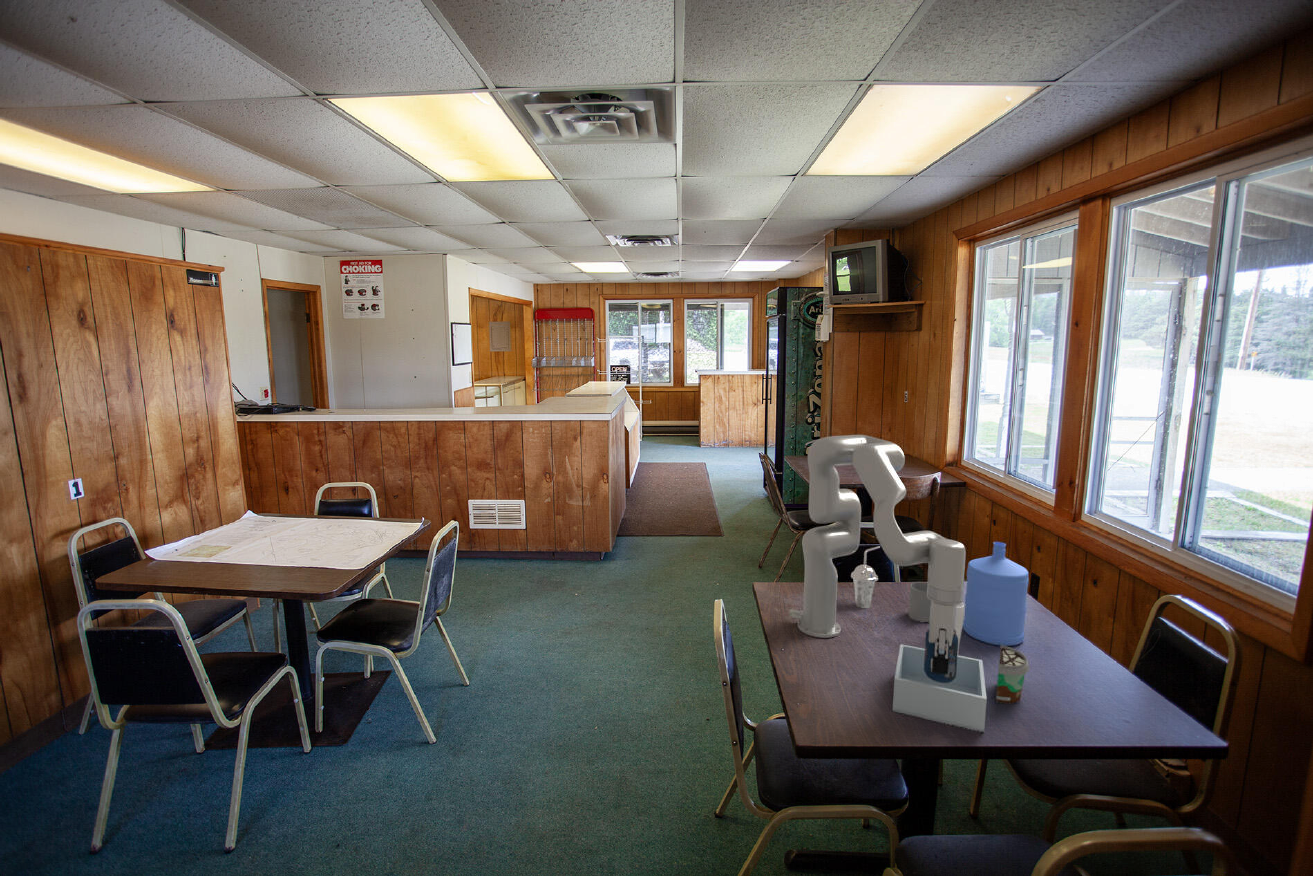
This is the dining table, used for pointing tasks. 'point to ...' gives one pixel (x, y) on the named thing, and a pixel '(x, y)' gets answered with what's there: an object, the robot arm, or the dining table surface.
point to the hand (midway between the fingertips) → (940, 664)
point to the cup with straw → (864, 582)
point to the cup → (919, 602)
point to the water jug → (996, 599)
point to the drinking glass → (959, 621)
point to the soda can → (951, 664)
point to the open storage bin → (940, 691)
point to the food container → (1010, 675)
